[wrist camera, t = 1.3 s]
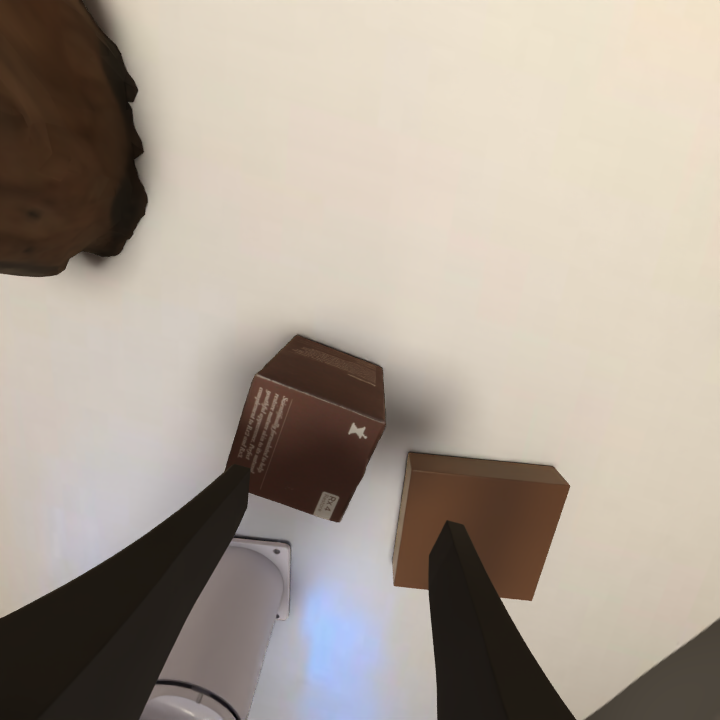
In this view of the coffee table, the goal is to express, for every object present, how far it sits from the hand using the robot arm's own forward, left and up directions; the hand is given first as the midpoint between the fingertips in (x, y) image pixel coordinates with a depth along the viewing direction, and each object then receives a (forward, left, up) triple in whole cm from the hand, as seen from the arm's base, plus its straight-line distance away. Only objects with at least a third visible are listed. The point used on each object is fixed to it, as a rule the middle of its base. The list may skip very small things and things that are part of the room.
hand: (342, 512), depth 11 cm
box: (-2, 0, -10) cm, 10 cm away
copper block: (+9, -9, -10) cm, 16 cm away
